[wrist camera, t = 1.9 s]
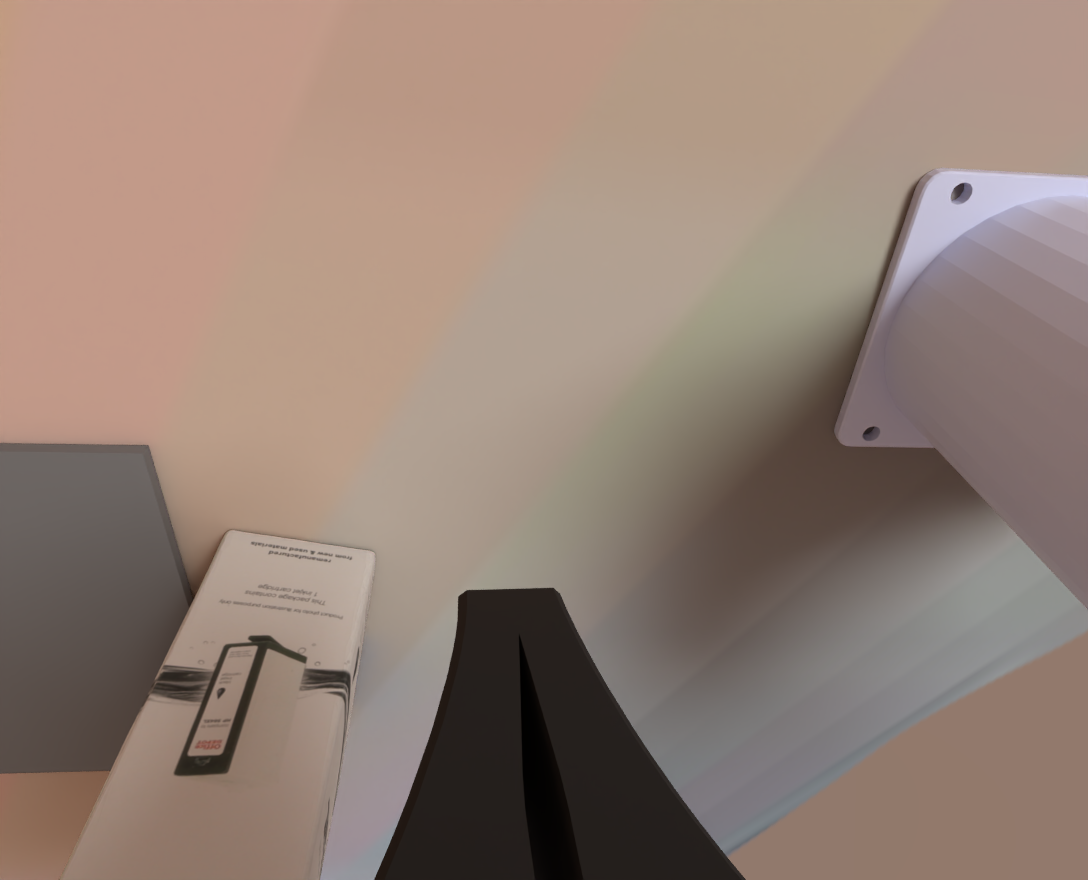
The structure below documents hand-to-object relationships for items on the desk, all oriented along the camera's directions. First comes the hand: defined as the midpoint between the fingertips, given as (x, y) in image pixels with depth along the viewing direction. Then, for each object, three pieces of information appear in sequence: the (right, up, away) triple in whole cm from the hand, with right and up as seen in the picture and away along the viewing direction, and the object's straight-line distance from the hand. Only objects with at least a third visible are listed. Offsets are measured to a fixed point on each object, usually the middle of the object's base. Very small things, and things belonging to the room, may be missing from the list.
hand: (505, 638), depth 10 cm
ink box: (-8, -3, +14) cm, 17 cm away
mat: (-18, -3, +13) cm, 22 cm away
